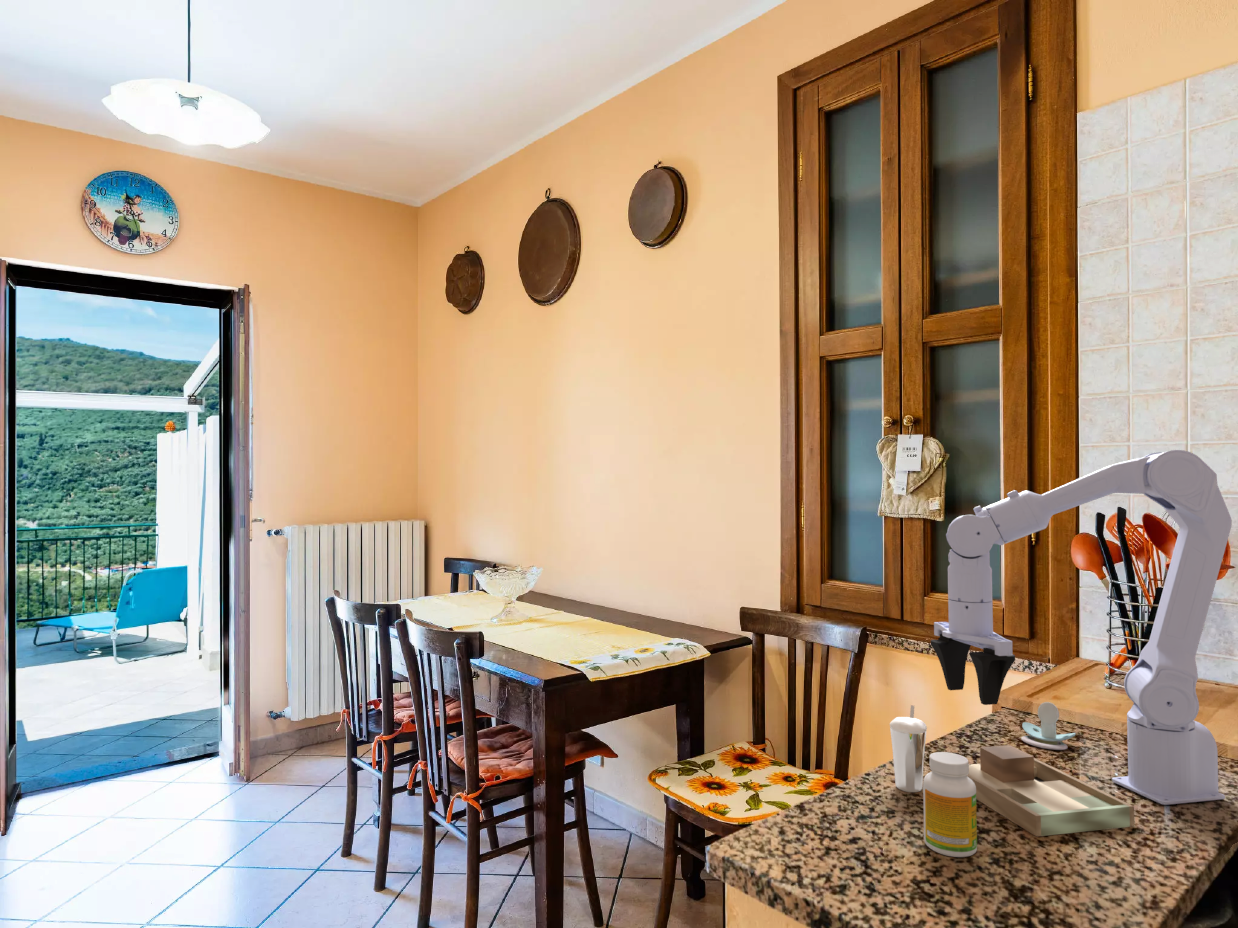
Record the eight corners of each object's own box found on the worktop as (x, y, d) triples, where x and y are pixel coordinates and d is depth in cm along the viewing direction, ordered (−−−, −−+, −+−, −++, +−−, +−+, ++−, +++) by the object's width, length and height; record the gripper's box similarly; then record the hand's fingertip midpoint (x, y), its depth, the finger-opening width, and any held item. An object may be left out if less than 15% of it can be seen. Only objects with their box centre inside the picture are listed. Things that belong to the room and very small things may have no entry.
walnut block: (1010, 767, 103) (1009, 744, 104) (1034, 779, 99) (1033, 756, 99) (980, 769, 103) (980, 747, 103) (1003, 782, 98) (1003, 758, 98)
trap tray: (1026, 770, 106) (1026, 753, 106) (1134, 826, 89) (1133, 806, 89) (942, 777, 104) (942, 760, 104) (1036, 836, 86) (1036, 815, 87)
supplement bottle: (983, 860, 81) (981, 768, 81) (929, 855, 82) (927, 764, 82) (970, 837, 86) (969, 750, 87) (919, 833, 87) (918, 747, 88)
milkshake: (931, 783, 102) (930, 707, 102) (923, 797, 97) (922, 718, 98) (896, 776, 104) (895, 702, 105) (887, 789, 100) (885, 712, 100)
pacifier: (1064, 756, 113) (1079, 746, 116) (1063, 713, 113) (1078, 704, 116) (1013, 743, 118) (1029, 734, 122) (1011, 703, 118) (1028, 694, 122)
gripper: (915, 593, 115) (916, 684, 114) (978, 608, 100) (980, 713, 100) (957, 592, 116) (958, 682, 116) (1025, 607, 102) (1027, 709, 101)
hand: (971, 696), depth 108 cm, fingers open, 7 cm apart
